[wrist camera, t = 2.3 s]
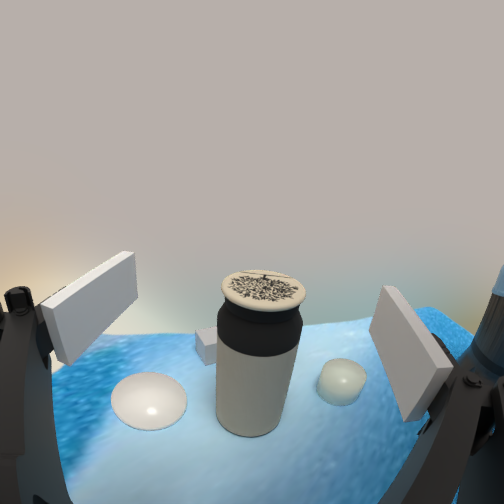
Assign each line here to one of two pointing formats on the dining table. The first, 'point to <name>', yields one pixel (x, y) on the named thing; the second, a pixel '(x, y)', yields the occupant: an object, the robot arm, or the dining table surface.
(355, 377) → the beige rounded cylinder
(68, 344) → the robot arm
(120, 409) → the saucer
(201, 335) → the grey cube
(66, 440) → the dining table surface
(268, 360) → the travel mug
